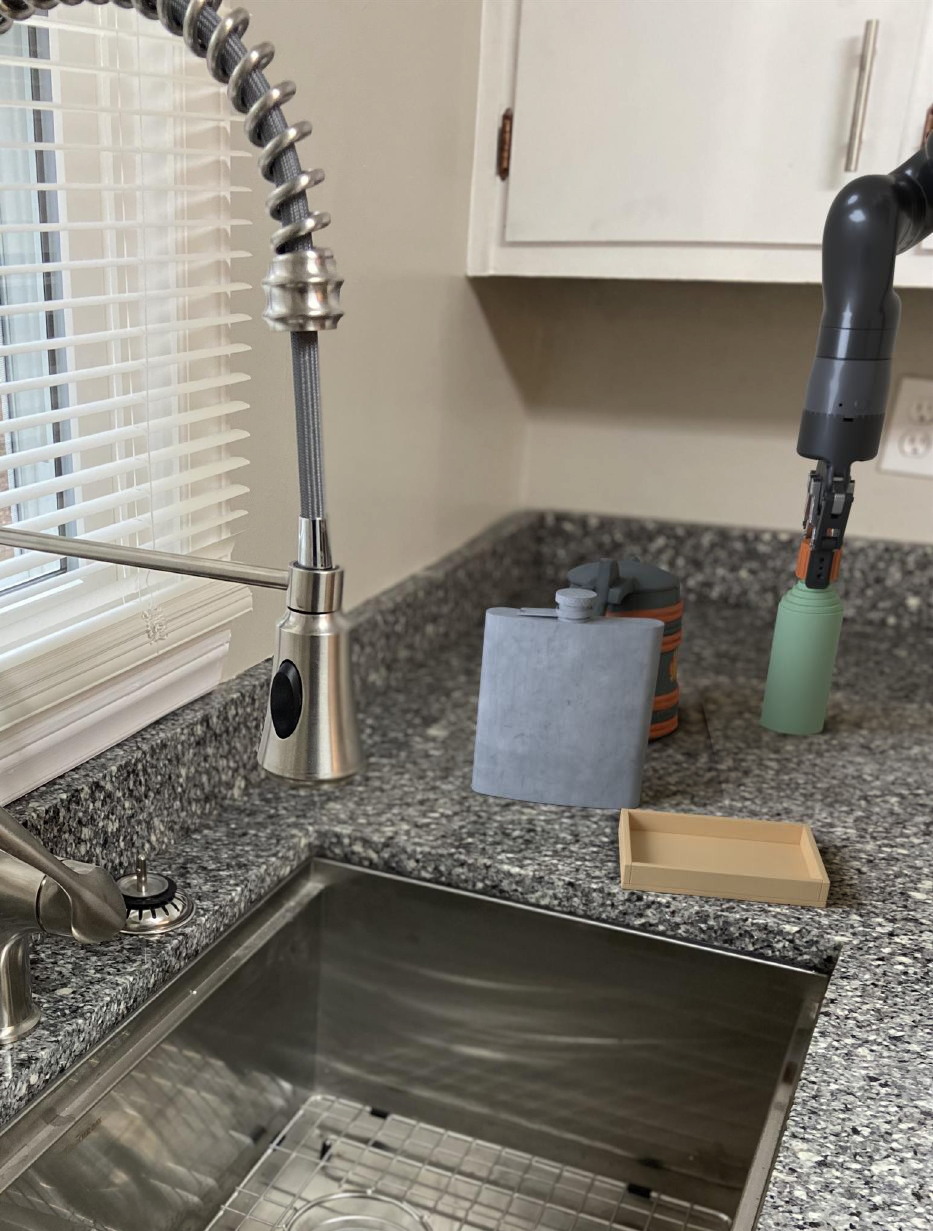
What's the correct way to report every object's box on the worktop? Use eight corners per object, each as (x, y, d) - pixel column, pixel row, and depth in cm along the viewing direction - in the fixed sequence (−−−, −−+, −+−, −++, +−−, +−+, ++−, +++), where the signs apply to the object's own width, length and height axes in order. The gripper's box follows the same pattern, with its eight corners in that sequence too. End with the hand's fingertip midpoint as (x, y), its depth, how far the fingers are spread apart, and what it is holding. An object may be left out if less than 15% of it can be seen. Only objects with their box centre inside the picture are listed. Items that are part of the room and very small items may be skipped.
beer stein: (662, 768, 143) (691, 571, 134) (518, 748, 147) (537, 556, 138) (683, 711, 159) (711, 531, 149) (553, 695, 163) (572, 519, 154)
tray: (804, 847, 126) (809, 823, 125) (825, 908, 115) (830, 882, 114) (618, 831, 128) (621, 808, 127) (621, 888, 118) (624, 863, 117)
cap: (841, 582, 142) (848, 547, 140) (801, 581, 142) (807, 547, 141) (831, 572, 146) (837, 538, 144) (791, 571, 146) (797, 537, 144)
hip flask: (639, 798, 135) (668, 591, 126) (638, 814, 132) (668, 603, 123) (473, 781, 139) (490, 579, 130) (468, 796, 136) (485, 589, 127)
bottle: (817, 725, 154) (849, 544, 145) (825, 746, 149) (859, 559, 139) (756, 721, 155) (784, 542, 146) (761, 742, 150) (791, 557, 141)
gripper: (795, 396, 143) (768, 565, 151) (812, 415, 131) (781, 598, 139) (874, 398, 142) (842, 569, 150) (898, 417, 130) (862, 602, 137)
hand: (813, 582), depth 144 cm, fingers closed on cap, 4 cm apart
